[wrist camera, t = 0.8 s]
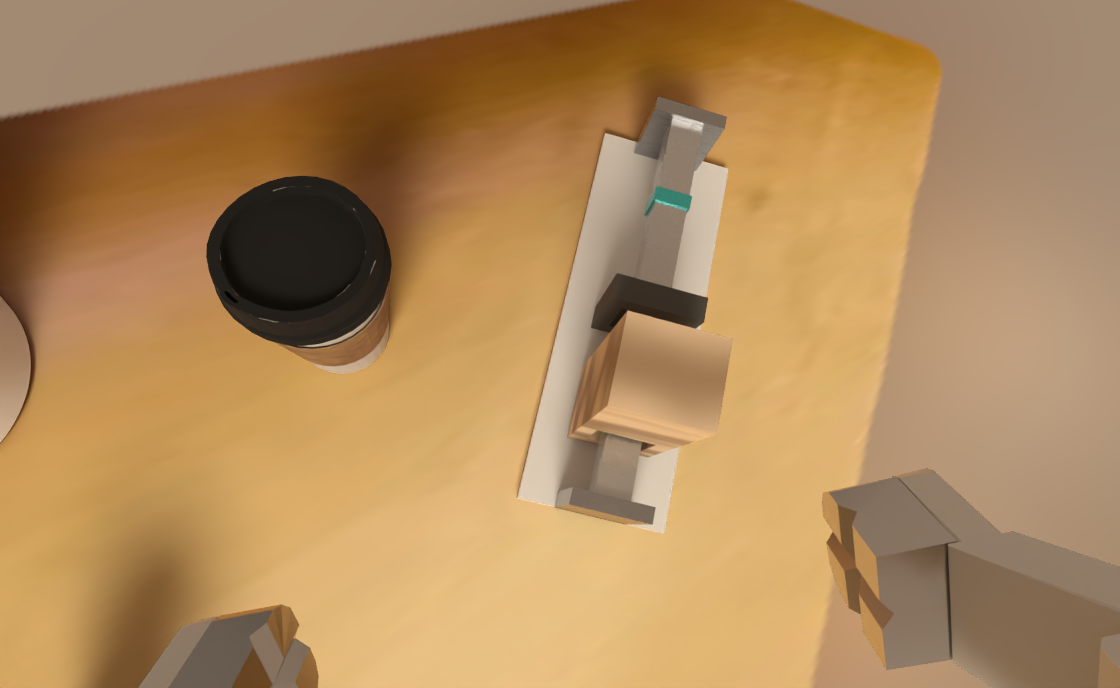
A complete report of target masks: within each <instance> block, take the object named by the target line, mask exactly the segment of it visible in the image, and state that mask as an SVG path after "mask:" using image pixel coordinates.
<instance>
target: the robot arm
mask: <svg viewBox="0 0 1120 688" xmlns="http://www.w3.org/2000/svg"><path fill="white" fill-rule="evenodd" d="M30 372H31V359H30V350H29V345H28V341H27V337H26V335H25V332H24V329H23V327H22V325H21V323H20V321H19V320H18V318H17V316H16V315H15V313H14V312H13V311H12V309H11V308H10V307H9V306H8V305H7V303H6V302H5V301H4V300H3V299H2V298H1V296H0V442H1V441H2V440H3V438H4V437H5V436H6V435H7V433H8V432H9V430H10V429H11V427H12V425H13V424H14V422H15V420H16V419H17V417H18V415H19V413H20V410H21V408H22V406H23V403H24V400H25V397H26V394H27V390H28V386H29V380H30ZM822 507H823V517H824V519H825V520H826V522H827V523H828V525H829V526H830V528H831V529H832V531H833V533H832V534H831V536H830V538H829V539H828V541H827V549H828V556H829V562H830V566H831V569H832V573H833V576H834V579H835V582H836V584H837V587H838V589H839V591H840V593H841V596H842V597H843V599H844V601H845V602H846V604H847V606H848V608H849V609H851V610H853V611H855V612H857V613H859V614H861V618H862V627H863V633H864V634H865V636H866V638H867V639H868V641H869V642H870V644H871V646H872V648H873V649H874V651H875V652H876V654H877V656H878V657H879V659H880V661H881V662H882V664H883V666H884V667H885V669H886V670H889V669H896V668H901V667H908V666H914V665H920V664H927V663H933V662H939V661H945V660H951V659H953V663H955V664H956V665H957V666H959V667H961V668H962V669H964V670H965V671H967V672H968V673H970V674H971V675H973V676H975V677H976V678H978V679H979V680H981V681H982V682H984V683H986V684H988V685H989V686H990V687H992V688H1120V567H1119V566H1115V565H1113V564H1110V563H1106V562H1103V561H1100V560H1098V559H1095V558H1091V557H1088V556H1085V555H1082V554H1079V553H1077V552H1074V551H1070V550H1067V549H1065V548H1061V547H1058V546H1055V545H1052V544H1049V543H1046V542H1043V541H1040V540H1037V539H1034V538H1031V537H1028V536H1025V535H1022V534H1019V533H1016V532H1013V531H1012V532H1007V533H1000V532H999V531H998V530H997V529H996V528H995V527H994V526H993V525H992V524H991V523H990V522H989V521H988V520H987V519H985V518H984V517H983V516H982V515H981V514H980V513H979V512H978V511H977V510H976V509H974V507H973V506H971V505H970V504H969V503H968V502H967V501H966V500H965V499H964V498H963V497H962V496H961V495H960V494H958V493H957V492H956V491H955V490H954V489H953V488H952V487H951V486H950V485H949V484H948V483H947V482H946V481H944V480H943V479H942V478H941V477H940V476H939V475H938V474H937V473H936V472H935V471H933V470H930V469H927V468H926V469H922V470H918V471H914V472H910V473H905V474H901V475H897V476H893V477H892V478H889V479H884V480H879V481H875V482H871V483H866V484H861V485H856V486H852V487H847V488H843V489H838V490H833V491H829V492H824V493H823V497H822ZM298 627H299V623H298V621H297V619H296V617H295V616H294V614H293V612H292V610H291V608H290V607H287V606H284V605H276V606H271V607H265V608H260V609H255V610H249V611H244V612H238V613H233V614H227V615H222V616H220V617H212V618H207V619H202V620H198V621H193V622H190V623H188V624H186V625H184V626H182V627H181V628H180V629H179V631H178V632H177V633H176V635H175V636H174V638H173V639H172V640H171V642H170V643H169V645H168V646H167V648H166V649H165V650H164V652H163V653H162V655H161V656H160V657H159V659H158V660H157V662H156V663H155V664H154V666H153V667H152V669H151V670H150V672H149V673H148V674H147V676H146V677H145V679H144V680H143V681H142V683H141V684H140V686H139V687H138V688H318V671H317V666H316V661H315V658H314V656H313V654H312V652H311V649H310V647H308V646H306V645H305V644H303V643H302V642H300V641H299V640H297V639H296V638H295V636H296V633H297V630H298Z"/></svg>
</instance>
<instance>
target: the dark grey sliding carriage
mask: <svg viewBox="0 0 1120 688" xmlns="http://www.w3.org/2000/svg"><path fill="white" fill-rule="evenodd" d="M707 301H708V298H707V297H703V296H699V295H696V294H692V293H689V292H685V291H681V290H678V289H674V288H670V287H667V286H663V285H659V284H656V283H652V282H648V281H645V280H641V279H637V278H634V277H630V276H626V275H623V274H619V273H617V274H616V275H615V277H614V278H613V280H612V282H611V283H610V285H609V286H608V288H607V289H606V291H605V293H604V294H603V296H602V297H601V299H600V300H599V302H598V303H597V305H596V307H595V311H594V316H593V320H592V324H591V328H593V329H597V330H601V331H605V332H608V333H610V332H611V331H612V329H613V328H614V327H615V326H616V324H617V323H618V322H619V321H620V319H621V318H622V317H623V316H624V314H625V313H626V310H629V311H633V312H636V313H640V314H644V315H648V316H651V317H655V318H659V319H662V320H666V321H669V322H672V323H676V324H680V325H683V326H687V327H691V328H695V329H696V328H697V327H698V326H700V325H701V324H702V323H703V322H704V319H705V313H706V307H707Z"/></svg>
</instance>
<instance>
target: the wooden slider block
mask: <svg viewBox="0 0 1120 688" xmlns="http://www.w3.org/2000/svg"><path fill="white" fill-rule="evenodd" d="M731 345H732V338H728V337H724V336H721V335H717V334H713V333H709V332H706V331H702V330H698V329H695V328H691V327H687V326H683V325H680V324H676V323H672V322H669V321H665V320H661V319H657V318H654V317H650V316H646V315H642V314H639V313H635V312H631V311H627V312H626V313H625V314H624V316H623V317H622V318H621V319H620V321H619V322H618V323H617V324H616V326H615V327H614V328H613V329H612V331H611V332H610V333H609V334H608V336H607V337H606V338H605V339H604V341H603V342H602V343H601V344H600V346H599V347H598V348H597V349H596V351H595V352H594V353H593V354H592V356H591V357H590V358H589V359H588V361H587V362H586V363H585V364H584V366H583V368H582V373H581V377H580V382H579V386H578V391H577V395H576V400H575V404H574V408H573V413H572V417H571V422H570V426H569V431H568V435H567V437H568V438H572V439H576V440H580V441H584V442H588V443H592V444H596V445H598V443H599V438H600V433H601V431H603V432H607V433H611V434H614V435H618V436H622V437H626V438H630V439H634V440H638V441H642V445H641V451H640V456H643V457H647V458H648V457H651V456H654V455H657V454H660V453H663V452H665V451H668V450H671V449H674V448H677V447H680V446H683V445H686V444H689V443H692V442H695V441H698V440H701V439H704V438H707V437H709V436H712V435H715V434H717V432H718V426H719V420H720V414H721V407H722V401H723V395H724V389H725V383H726V376H727V370H728V364H729V358H730V352H731Z"/></svg>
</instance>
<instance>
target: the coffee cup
mask: <svg viewBox="0 0 1120 688" xmlns="http://www.w3.org/2000/svg"><path fill="white" fill-rule="evenodd" d="M206 258H207V263H208V268H209V272H210V275H211V278H212V281H213V283H214V286H215V289H216V292H217V294H218V296H219V298H220V300H221V302H222V304H223V306H224V307H225V309H226V310H227V311H228V312H229V313H230V315H231V316H232V317H233V318H234V319H235V320H236V321H238V322H239V323H240V324H241V325H243V326H244V327H245V328H247V329H248V330H249V331H251V332H252V333H254V334H256V335H258V336H260V337H262V338H264V339H266V340H269V341H273V342H275V343H277V344H279V345H281V346H282V347H284V348H286V349H288V350H289V351H291V352H293V353H295V354H296V355H298V356H300V357H302V358H304V359H306V360H308V361H309V362H311V363H312V364H314V365H315V366H317V367H319V368H321V369H323V370H325V371H328V372H332V373H338V374H347V373H353V372H357V371H360V370H362V369H364V368H366V367H368V366H370V365H371V364H372V363H373V362H375V361H376V360H377V359H378V358H379V356H380V355H381V354H382V352H383V351H384V349H385V347H386V344H387V341H388V337H389V320H388V318H389V280H390V272H391V257H390V249H389V246H388V242H387V239H386V236H385V233H384V230H383V228H382V226H381V224H380V223H379V221H378V219H377V217H376V216H375V215H374V214H373V213H372V211H371V210H370V209H369V208H368V207H367V206H366V205H365V204H364V203H363V202H362V201H361V200H360V199H359V198H358V196H356V195H355V194H354V193H352V192H351V191H350V190H348V189H347V188H346V187H344V186H341V185H339V184H337V183H335V182H333V181H330V180H326V179H322V178H318V177H310V176H294V177H284V178H280V179H277V180H273V181H269V182H267V183H264V184H262V185H260V186H257V187H255V188H253V189H251V190H250V191H248V192H247V193H245V194H243V195H242V196H240V197H239V198H238V199H237V200H236V201H234V202H233V203H232V204H231V205H230V206H229V207H228V208H227V209H226V210H225V211H224V212H223V214H222V215H221V216H220V217H219V218H218V220H217V222H216V224H215V225H214V227H213V229H212V231H211V233H210V236H209V240H208V243H207V256H206Z"/></svg>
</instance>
